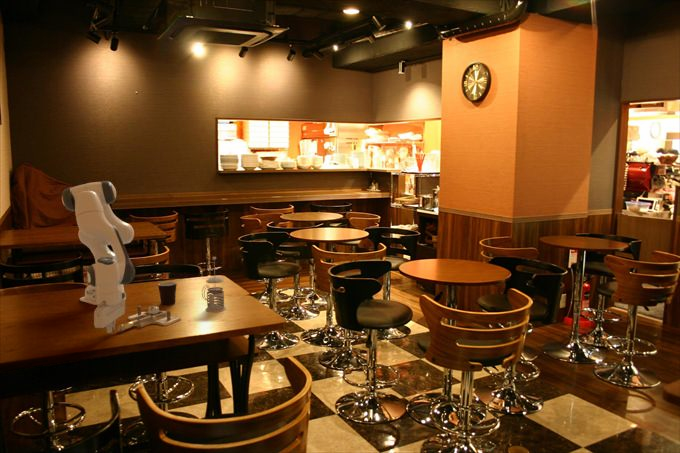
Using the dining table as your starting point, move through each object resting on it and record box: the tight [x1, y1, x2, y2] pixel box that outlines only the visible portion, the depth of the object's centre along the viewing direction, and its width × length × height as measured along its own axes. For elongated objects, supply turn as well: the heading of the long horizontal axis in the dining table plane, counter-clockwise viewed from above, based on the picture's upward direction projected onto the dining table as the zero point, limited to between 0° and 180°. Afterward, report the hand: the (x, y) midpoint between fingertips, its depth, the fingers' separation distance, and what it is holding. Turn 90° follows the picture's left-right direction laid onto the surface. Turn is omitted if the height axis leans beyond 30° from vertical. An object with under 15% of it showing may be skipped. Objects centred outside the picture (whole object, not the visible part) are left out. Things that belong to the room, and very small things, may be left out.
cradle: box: [127, 305, 182, 328], centre depth 241 cm, size 22×15×5 cm
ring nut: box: [147, 305, 160, 316], centre depth 244 cm, size 4×4×5 cm
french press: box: [201, 256, 227, 313], centre depth 258 cm, size 10×12×25 cm
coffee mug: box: [157, 281, 178, 307], centre depth 271 cm, size 12×9×10 cm
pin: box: [117, 320, 139, 333], centre depth 231 cm, size 9×3×3 cm, turn 154°
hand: (111, 331), depth 223 cm, fingers closed
